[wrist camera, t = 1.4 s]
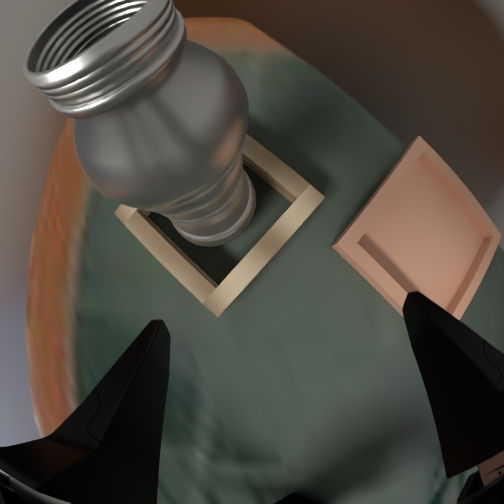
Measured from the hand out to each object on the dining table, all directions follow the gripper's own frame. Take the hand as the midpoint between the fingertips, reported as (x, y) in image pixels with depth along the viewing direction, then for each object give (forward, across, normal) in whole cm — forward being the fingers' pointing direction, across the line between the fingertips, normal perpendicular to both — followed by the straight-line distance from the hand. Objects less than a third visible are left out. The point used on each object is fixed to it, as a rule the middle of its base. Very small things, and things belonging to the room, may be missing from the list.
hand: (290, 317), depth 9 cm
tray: (+12, -15, +6) cm, 20 cm away
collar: (+15, +4, +3) cm, 16 cm away
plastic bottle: (+15, +4, +3) cm, 16 cm away
